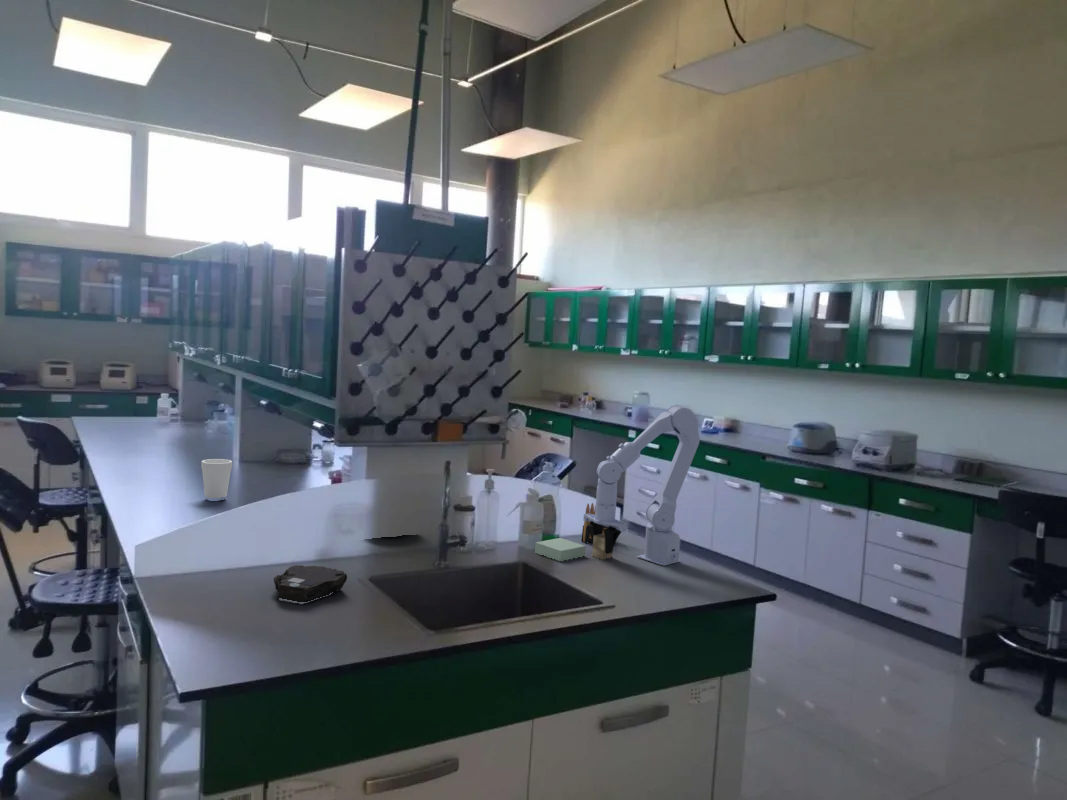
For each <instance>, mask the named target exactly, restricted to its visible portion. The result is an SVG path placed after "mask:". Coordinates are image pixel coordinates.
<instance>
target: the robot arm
mask: <svg viewBox="0 0 1067 800" xmlns="http://www.w3.org/2000/svg"><path fill="white" fill-rule="evenodd" d="M698 423H699V420H698V418H697V416H696V415H695V414H694V412H693V410H692V409H690V408H688V407H684V406H682V405H678V404H675V405H671V406H669V407H668V408H667V409H666V411H663V412H661V413H660V414H659V415H658V416H657V418H655V419H654V420H653V422H651V423H650V424H649V425H648V426H647V427H646V428H645V429H644V430H643V431H642V432H641V433H640V434H639V435H638V436H637V437H636V438H635V439H634V440H633V441H626V442H624V443H620V444H619V445H618V448H617V449H616V451H614V452H613V453H612V454H611V455H607V456H606V460H603V461H601V462H599V464H598V466H597V468H596V471H595V473H596V475H597V476H598V480H597V486H596V494H595V495H596V496H595V497H596V498H595V505H596V509H595V508H594V509H595V515H593V514H589V513H588V514H585V513H584V514H583V522H584V521H589V522H590V524H588V525H587V528H588V530H589V532H590V535H591V538H592V544H593V538H594V535H599V534H602V533H603V529H604V526H607V527H609V528H607V529H604V534H605V552H606V553H607V554H609V553H612V551H614V547H615V545H616V542H617V540H618V539H619V536H620V535H621V533H622V532H627V531H628V530H627V528H628V523H624V522H622V521H620V520H618V519H616V513H617V497H618V481H619V480H620V479H621V476H622V473H624V472H625V471H626V470H627V469H629V467H630V466H632V465H633V464H634V463H635V462H636V461H637V460H639V459H640V457H641V451H642V450H643V449H644V448H645V447H646V446H648V445H649V444H650V443H651V442H653V441H654V440H655V439H656V438H658V437H659V436H660V435H662V434H663V433H668V432H669V433H670V432H674V431H675V434H676V436H677V439H678V441H679V443H678V445H677V448H676V449H675V450H676V451H675V453H674V455H673V458H672V460H671V463H670V466H669V468H668V470H667V472H666V475H665V478H664V480H663V481H662V482H663V483H662V485H661V487H660V490H659V492H658V493H657V494H656V495H655V497H654V498H653V500H652V502H651V503H650V504H649V505H648V506H647V507H646V509H645V516H646V519H647V520H648V522H647V524H646V526H645V538H644V553H642V554H639V555H637V558H639V559H640V560H641V559H642V560H644V561H648V562H651V563H654V564H657V565H661V566H668V565H671V564H677V563H679V562H681V559H680V550H681V549H680V548H681V536H680V534H678V533H676V532H674V531H673V526H674V525H675V519H676V518H675V512H676V510H677V499H678V496H679V494H680V491H681V489H682V487H683V485H684V482H685V479H686V476H687V475H688V472H689V469H690V467H691V464H692V463H693V459H694V457H695V455H696V452H697V449H698V447H699V445H700V435H699V425H698Z"/></svg>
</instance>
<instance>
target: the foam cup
mask: <svg viewBox="0 0 1067 800" xmlns="http://www.w3.org/2000/svg"><path fill="white" fill-rule="evenodd" d="M200 464H201V465H200V466H201V467H200V468H201V470H202V471H201V472H202V482H203V490H204V498H205V497H208V498H221V497H226V496H227V495H228V490H229V484H230V479H231V474H232V473H231V472H232V469H233V461H232V460H230V459H224V458H211V459H210V458H209V459H203V460H201V463H200ZM226 498H227V497H226Z"/></svg>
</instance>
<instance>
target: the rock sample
mask: <svg viewBox="0 0 1067 800" xmlns="http://www.w3.org/2000/svg"><path fill="white" fill-rule="evenodd" d="M347 579H348V575H347V573H345V572H344V570H338V569H337V568H331V567H326V566H323V565H321V566H318V565H307V566H305V565H302V564H300V565H297V564H296V565H292V566H290V567H288V568H286V569H285V571H284V572H283V573H282V574H281V575H280V574H277V575H276V576H274V577H273V583H274V587H275V590H276V591H277V599H278V598H282V599H287V600H292V601H297V602H308V601H311V600H314V599H316V598H320V597H323V596H326V595H329V594H330V593H332V592H334V591H337V590H339V591H341V590H342V588H343V587H344V585H345V583H346V582H347ZM340 589H341V590H340ZM278 592H279V593H278ZM337 592H338V591H337ZM332 594H333V593H332Z"/></svg>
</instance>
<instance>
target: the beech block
mask: <svg viewBox="0 0 1067 800" xmlns="http://www.w3.org/2000/svg"><path fill="white" fill-rule="evenodd" d="M613 551H614V550H613ZM613 551H612V553H609V554H607V553H606V552H605V534H599V535H594V538H593V543H592V555H591V557H593V556H594V557H593V558H596V557H597V558H596V559H599V558H600V559H599V560H602V559H604V560H607V559H606V558H609V559H612V558H613ZM611 557H612V558H611Z"/></svg>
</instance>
